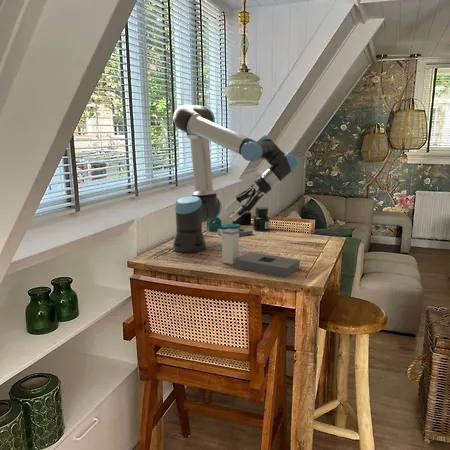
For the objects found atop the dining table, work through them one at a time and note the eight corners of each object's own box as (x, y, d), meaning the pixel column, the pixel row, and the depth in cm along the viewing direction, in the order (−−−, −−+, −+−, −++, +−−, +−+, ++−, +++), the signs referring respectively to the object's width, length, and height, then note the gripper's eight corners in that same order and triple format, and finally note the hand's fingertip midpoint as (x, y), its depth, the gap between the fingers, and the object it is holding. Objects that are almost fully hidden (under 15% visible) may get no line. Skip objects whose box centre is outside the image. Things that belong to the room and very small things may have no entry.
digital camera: (233, 225, 247) (233, 213, 245) (232, 223, 252) (232, 212, 251) (251, 225, 248) (251, 213, 246) (249, 223, 253) (250, 211, 252)
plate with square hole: (234, 270, 169) (234, 259, 168) (249, 262, 179) (249, 251, 178) (286, 280, 158) (286, 268, 157) (299, 271, 168) (299, 260, 167)
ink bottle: (270, 231, 233) (270, 209, 230) (253, 231, 233) (254, 209, 230) (268, 227, 242) (269, 206, 240) (253, 227, 242) (253, 206, 240)
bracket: (209, 231, 233) (209, 217, 231) (206, 229, 240) (206, 215, 238) (241, 230, 237) (241, 215, 236) (238, 227, 244) (238, 213, 242)
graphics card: (226, 233, 215) (217, 228, 226) (226, 241, 216) (217, 235, 227) (256, 230, 222) (245, 225, 233) (256, 237, 223) (245, 232, 234)
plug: (222, 264, 176) (222, 231, 173) (228, 261, 180) (228, 228, 177) (232, 266, 174) (232, 232, 171) (238, 263, 178) (239, 230, 175)
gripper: (280, 195, 173) (240, 229, 174) (264, 182, 196) (229, 212, 198) (268, 181, 170) (228, 216, 172) (254, 169, 194) (219, 201, 195)
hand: (229, 214), depth 185 cm, fingers open, 13 cm apart
